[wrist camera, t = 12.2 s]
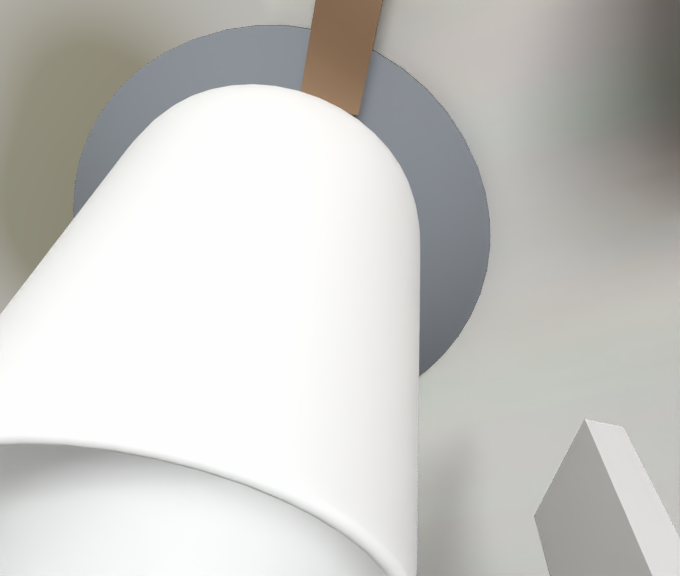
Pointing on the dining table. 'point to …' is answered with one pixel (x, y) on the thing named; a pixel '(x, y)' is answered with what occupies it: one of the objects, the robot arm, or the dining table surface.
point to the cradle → (340, 51)
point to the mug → (221, 356)
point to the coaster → (375, 113)
